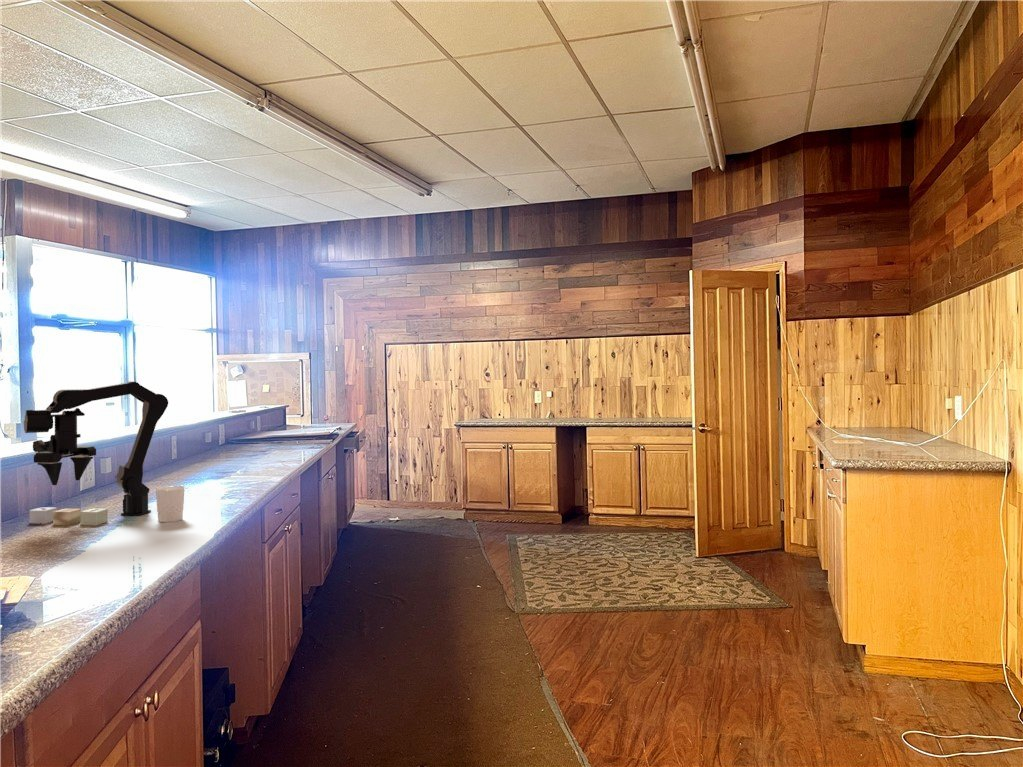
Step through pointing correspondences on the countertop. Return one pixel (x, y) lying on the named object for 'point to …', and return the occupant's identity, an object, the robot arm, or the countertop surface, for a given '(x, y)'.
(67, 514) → the birch block
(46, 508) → the white die
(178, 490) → the white cup
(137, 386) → the robot arm
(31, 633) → the countertop surface
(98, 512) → the sage block one
